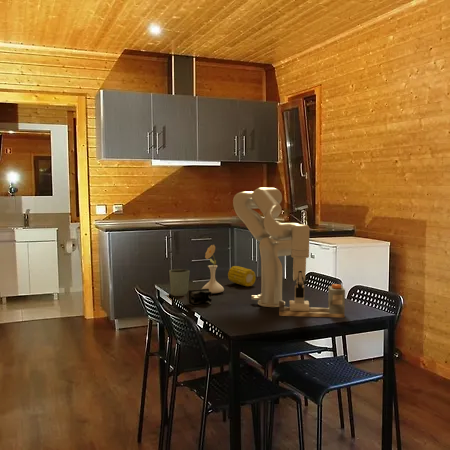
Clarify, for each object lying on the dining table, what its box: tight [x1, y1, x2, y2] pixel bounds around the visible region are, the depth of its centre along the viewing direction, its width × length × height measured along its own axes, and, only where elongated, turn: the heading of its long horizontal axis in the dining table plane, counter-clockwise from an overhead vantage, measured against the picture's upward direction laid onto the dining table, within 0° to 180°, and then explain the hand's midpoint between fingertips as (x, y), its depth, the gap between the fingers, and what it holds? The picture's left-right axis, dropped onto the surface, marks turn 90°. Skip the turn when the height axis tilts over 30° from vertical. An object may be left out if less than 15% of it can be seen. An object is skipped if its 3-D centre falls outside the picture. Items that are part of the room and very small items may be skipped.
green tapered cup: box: [168, 268, 191, 297], centre depth 258 cm, size 10×10×12 cm
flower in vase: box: [201, 244, 225, 294], centre depth 261 cm, size 13×11×25 cm
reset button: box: [331, 283, 343, 289], centre depth 217 cm, size 4×4×1 cm
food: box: [227, 265, 257, 288], centre depth 283 cm, size 15×12×10 cm
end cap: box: [186, 288, 213, 307], centre depth 237 cm, size 10×7×7 cm
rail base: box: [278, 285, 346, 318], centre depth 218 cm, size 27×8×12 cm, turn 84°
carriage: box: [289, 284, 310, 311], centre depth 219 cm, size 8×7×10 cm
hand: (299, 295), depth 219 cm, fingers open, 4 cm apart
